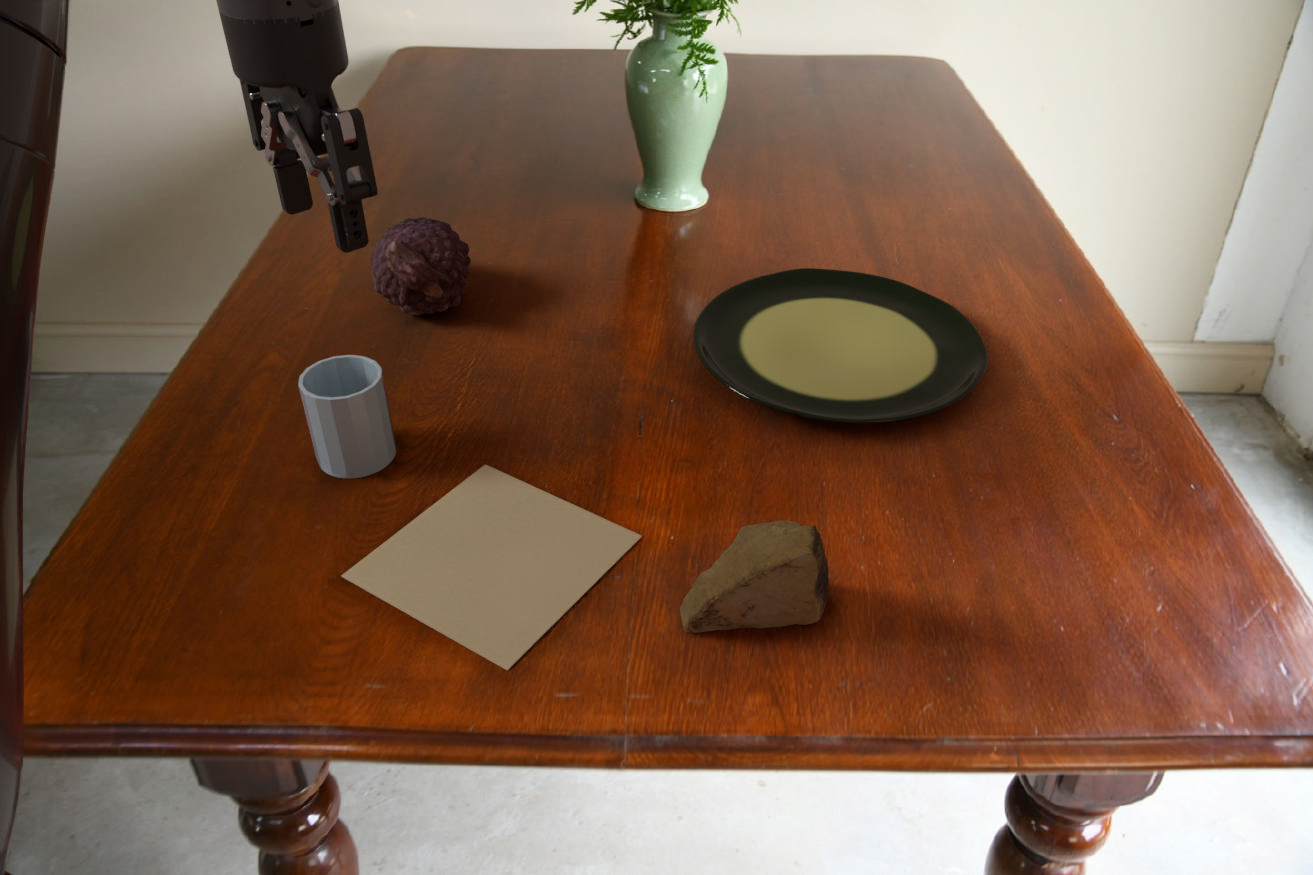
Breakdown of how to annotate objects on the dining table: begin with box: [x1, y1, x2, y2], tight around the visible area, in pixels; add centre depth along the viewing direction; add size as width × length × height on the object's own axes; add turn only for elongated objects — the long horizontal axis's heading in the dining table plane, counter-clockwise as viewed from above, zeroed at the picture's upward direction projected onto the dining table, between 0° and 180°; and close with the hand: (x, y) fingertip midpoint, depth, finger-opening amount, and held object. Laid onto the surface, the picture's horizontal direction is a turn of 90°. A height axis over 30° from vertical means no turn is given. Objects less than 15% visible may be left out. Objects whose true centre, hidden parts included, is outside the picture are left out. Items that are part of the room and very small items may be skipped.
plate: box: [692, 267, 989, 425], centre depth 99 cm, size 28×28×2 cm
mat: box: [340, 464, 643, 672], centre depth 77 cm, size 16×16×1 cm
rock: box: [679, 519, 830, 634], centre depth 71 cm, size 11×9×10 cm
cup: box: [297, 354, 397, 480], centre depth 85 cm, size 6×6×8 cm
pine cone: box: [370, 216, 472, 316], centre depth 106 cm, size 18×10×10 cm
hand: (325, 229), depth 76 cm, fingers open, 8 cm apart
